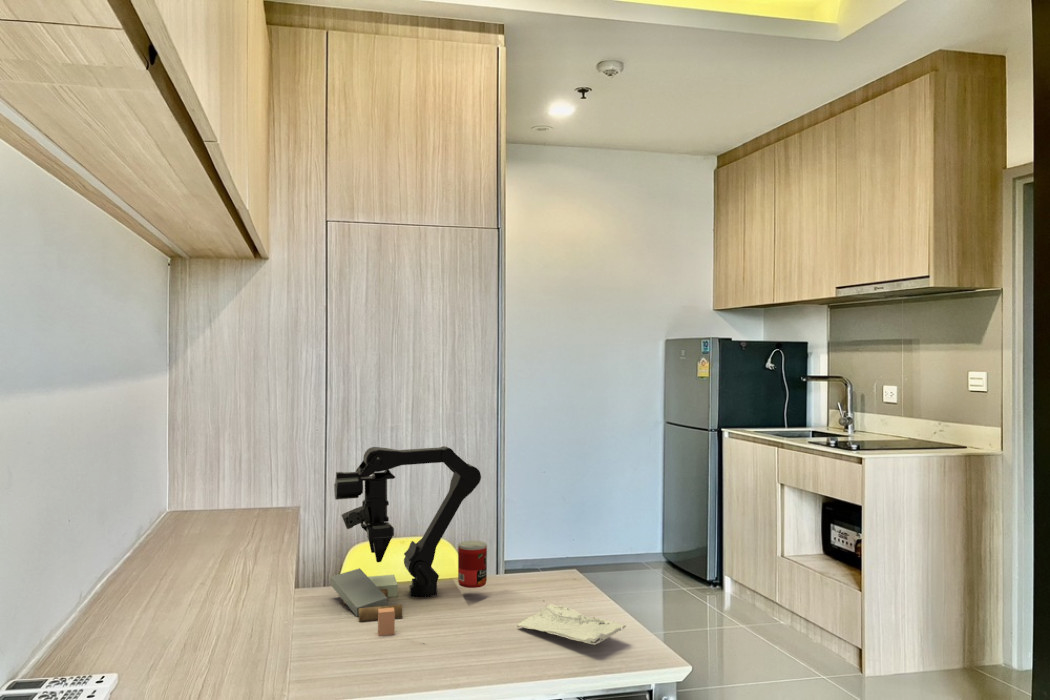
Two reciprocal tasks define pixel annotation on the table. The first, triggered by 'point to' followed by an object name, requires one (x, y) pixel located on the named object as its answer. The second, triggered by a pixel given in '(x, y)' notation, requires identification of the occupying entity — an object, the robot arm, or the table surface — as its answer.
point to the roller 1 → (381, 591)
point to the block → (386, 584)
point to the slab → (358, 590)
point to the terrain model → (571, 624)
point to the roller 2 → (372, 612)
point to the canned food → (472, 564)
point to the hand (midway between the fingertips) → (376, 557)
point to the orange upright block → (386, 621)
